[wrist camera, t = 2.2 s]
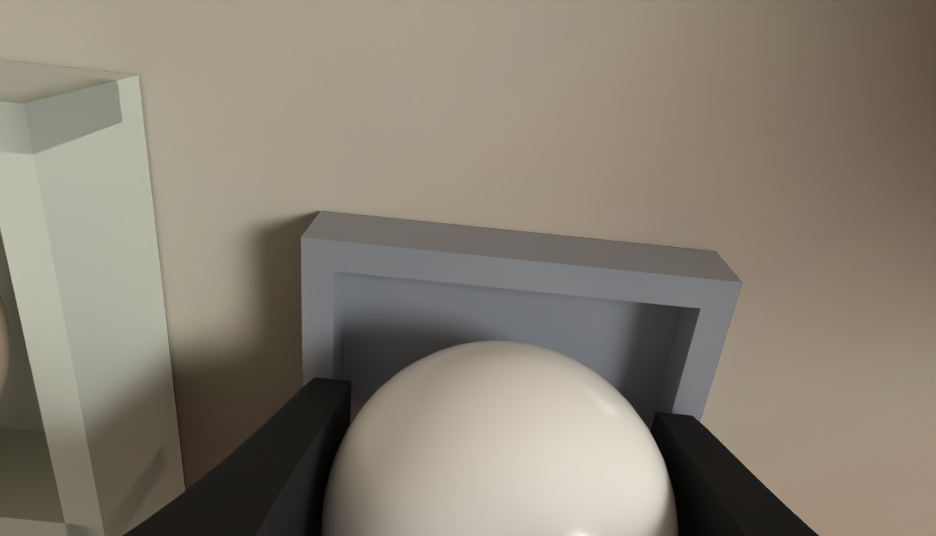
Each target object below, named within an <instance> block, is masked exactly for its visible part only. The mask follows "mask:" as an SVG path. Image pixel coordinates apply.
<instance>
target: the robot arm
mask: <svg viewBox="0 0 936 536" xmlns="http://www.w3.org/2000/svg"><path fill="white" fill-rule="evenodd" d="M350 412H351V381H346V380H336V379H326V378H316V377H314V378H313V379H312V380H310V381H309V382H308V383H307V384H306V385H305V386H304V387H303V388H302V389H301V390H300V391H298V392H297V393H296V394H295V395H294V396H293V397H292V398H291V399H290V400H289V401H288V402H287V403H286V404H285V405H284V406H283V407H282V408H281V409H280V410H279V411H278V412H277V413H276V414H275V415H274V416H273V417H271V418H270V419H269V420H268V421H267V422H266V423H265V424H264V425H263V426H262V427H261V428H260V429H258V430H257V431H256V432H255V433H254V434H253V435H252V436H251V437H249V438H248V439H247V440H246V441H245V442H244V443H243V444H242V445H240V446H239V447H238V448H237V449H236V450H235V451H234V452H233V453H231V454H230V455H229V456H228V457H227V458H225V459H224V460H223V461H222V462H221V463H219V464H218V465H217V466H216V467H214V468H213V469H212V470H211V471H209V472H208V473H207V474H206V475H204V476H203V477H202V478H201V479H199V480H198V481H197V482H196V483H194V484H193V485H192V486H191V487H189V488H188V489H187V490H186V491H184V492H183V493H182V494H181V495H179V496H178V497H177V498H175V499H174V500H172V501H171V502H170V503H168V504H167V505H166V506H164V507H163V508H162V509H160V510H159V511H157V512H156V513H155V514H153V515H152V516H150V517H149V518H148V519H146V520H145V521H143V522H142V523H140V524H139V525H137V526H136V527H134V528H133V529H131V530H130V531H128V532H127V533H126V534H124V535H123V536H321V523H322V508H323V497H324V492H325V488H326V484H327V480H328V476H329V472H330V469H331V465H332V462H333V459H334V457H335V455H336V452H337V450H338V448H339V446H340V444H341V441H342V439H343V437H344V435H345V433H346V431H347V429H348V428H349V426H350ZM650 433H651V434H652V436H653V438H654V440H655V442H656V444H657V446H658V448H659V450H660V452H661V455H662V457H663V459H664V461H665V464H666V467H667V470H668V474H669V477H670V480H671V484H672V488H673V492H674V495H675V502H676V510H677V519H678V531H679V534H678V536H819V535H817V534H816V533H815V532H814V531H813V530H812V529H811V528H810V527H808V526H807V525H806V524H805V523H804V522H803V521H802V520H801V519H800V518H799V517H798V516H796V515H795V514H794V513H793V512H792V511H791V510H790V509H789V508H788V507H787V506H786V505H785V504H783V503H782V502H781V501H780V500H779V499H778V498H777V497H776V496H775V495H774V494H773V493H772V492H771V491H770V490H769V489H768V488H767V487H766V486H765V485H764V484H763V483H762V482H760V481H759V480H758V479H757V478H756V477H755V476H754V475H753V474H752V473H751V472H750V471H749V470H748V469H747V468H746V467H745V466H744V465H743V464H742V463H741V462H740V461H739V460H738V459H737V458H736V457H735V456H734V455H733V454H732V453H731V452H730V451H729V450H728V449H727V448H726V447H725V446H724V445H723V444H722V443H721V442H720V441H719V440H718V439H717V438H716V437H715V436H714V435H713V434H712V433H711V432H710V431H709V430H708V429H707V428H706V427H705V426H703V425H702V424H701V423H700V422H699V421H698V420H697V419H696V418H695V417H694V416H692V415H683V414H673V413H663V412H655V416H654V419H653V423H652V427H651V431H650Z"/></svg>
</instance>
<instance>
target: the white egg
mask: <svg viewBox="0 0 936 536" xmlns="http://www.w3.org/2000/svg"><path fill="white" fill-rule="evenodd" d="M678 534H679V531H678V519H677V510H676V502H675V495H674V492H673V488H672V484H671V480H670V477H669V474H668V470H667V467H666V464H665V461H664V459H663V457H662V455H661V452H660V450H659V448H658V446H657V444H656V442H655V440H654V438H653V436H652V434H651V433H650V431H649V429H648V427H647V426H646V425H645V423H644V422H643V421H642V419H641V418H640V416H639V415H638V414H637V412H636V411H635V410H634V408H633V407H632V406H631V404H630V403H629V402H628V401H627V400H626V399H625V398H624V397H623V396H622V395H621V394H620V393H619V392H618V391H617V390H616V389H615V388H614V387H613V386H612V385H611V384H610V383H609V382H607V381H606V380H605V379H604V378H602V377H601V376H600V375H598V374H597V373H596V372H594V371H593V370H592V369H590V368H588V367H587V366H585V365H583V364H581V363H580V362H578V361H576V360H574V359H572V358H570V357H568V356H565V355H563V354H561V353H558V352H556V351H553V350H551V349H548V348H544V347H541V346H537V345H534V344H529V343H522V342H516V341H500V340H491V341H476V342H471V343H465V344H460V345H456V346H452V347H449V348H446V349H443V350H440V351H437V352H435V353H433V354H431V355H428V356H426V357H424V358H422V359H420V360H418V361H416V362H414V363H412V364H411V365H409V366H407V367H406V368H404V369H403V370H401V371H400V372H398V373H397V374H396V375H395V376H393V377H392V378H391V379H390V380H388V381H387V382H386V383H385V384H384V385H383V386H382V387H380V388H379V389H378V390H377V391H376V392H375V393H374V395H373V396H372V397H371V398H370V399H369V400H368V401H367V402H366V403H365V404H364V406H363V407H362V409H361V410H360V412H359V413H358V414H357V416H356V417H355V419H354V420H353V422H352V423H351V425H350V426H349V428H348V429H347V431H346V433H345V435H344V437H343V439H342V441H341V444H340V446H339V448H338V450H337V452H336V455H335V457H334V459H333V462H332V465H331V469H330V472H329V476H328V480H327V484H326V488H325V492H324V497H323V508H322V523H321V536H678Z"/></svg>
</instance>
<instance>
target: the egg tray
mask: <svg viewBox="0 0 936 536" xmlns="http://www.w3.org/2000/svg"><path fill="white" fill-rule="evenodd" d="M0 296H1V299H2V302H3V305H4V308H5V312H6V315H7V318H8V324H9V330H10V363H9V369H8V375H7V379H6V382H5V386H4V390H3V393H2V395H1V398H0V536H123V535H124V534H126V533H127V532H128V531H130V530H131V529H133V528H134V527H136V526H137V525H139V524H140V523H142V522H143V521H145V520H146V519H148V518H149V517H150V516H152V515H153V514H155V513H156V512H157V511H159V510H160V509H162V508H163V507H164V506H166V505H167V504H168V503H170V502H171V501H172V500H174V499H175V498H177V497H178V496H179V495H181V494H182V493H183V492H184V491H185V484H184V475H183V466H182V457H181V448H180V440H179V431H178V422H177V413H176V404H175V395H174V386H173V377H172V368H171V360H170V351H169V342H168V333H167V324H166V315H165V306H164V297H163V289H162V280H161V271H160V262H159V253H158V244H157V235H156V226H155V217H154V209H153V200H152V191H151V182H150V173H149V164H148V155H147V146H146V137H145V129H144V120H143V111H142V102H141V93H140V84H139V75H134V74H125V73H115V72H106V71H96V70H86V69H77V68H67V67H58V66H48V65H38V64H29V63H19V62H10V61H0Z"/></svg>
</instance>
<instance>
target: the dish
mask: <svg viewBox="0 0 936 536" xmlns="http://www.w3.org/2000/svg"><path fill="white" fill-rule="evenodd" d="M741 285H742V282H741V280H740V279H739V278H738V277H737V276H736V274H735V273H734V272H733V271H732V270H731V269H730V267H729V266H728V265H727V264H726V263H725V261H724V260H723V259H722V258H721V257H720V256H719V254H718V253H717V252H715V251H705V250H696V249H686V248H676V247H666V246H657V245H647V244H637V243H627V242H618V241H608V240H598V239H588V238H579V237H569V236H559V235H550V234H540V233H530V232H520V231H511V230H501V229H491V228H481V227H472V226H462V225H452V224H442V223H433V222H423V221H413V220H403V219H394V218H384V217H374V216H365V215H355V214H345V213H335V212H326V211H320V213H319V214H318V215H317V217H316V218H315V219H314V221H313V222H312V223H311V224H310V226H309V227H308V228H307V230H306V231H305V232H304V234H303V235H302V236H301V296H302V375H303V387H304V386H305V385H306V384H307V383H308V382H309V381H310V380H312V379H313V378H314V377H316V378H326V379H336V380H346V381H351V412H350V425H351V423H352V422H353V420H354V419H355V417H356V416H357V414H358V413H359V412H360V410H361V409H362V407H363V406H364V404H365V403H366V402H367V401H368V400H369V399H370V398H371V397H372V396H373V395H374V393H375V392H376V391H377V390H378V389H379V388H380V387H382V386H383V385H384V384H385V383H386V382H387V381H388V380H390V379H391V378H392V377H393V376H395V375H396V374H397V373H398V372H400V371H401V370H403V369H404V368H406V367H407V366H409V365H411V364H412V363H414V362H416V361H418V360H420V359H422V358H424V357H426V356H428V355H431V354H433V353H435V352H437V351H440V350H443V349H446V348H449V347H452V346H456V345H460V344H465V343H471V342H476V341H491V340H500V341H516V342H522V343H529V344H534V345H537V346H541V347H544V348H548V349H551V350H553V351H556V352H558V353H561V354H563V355H565V356H568V357H570V358H572V359H574V360H576V361H578V362H580V363H581V364H583V365H585V366H587V367H588V368H590V369H592V370H593V371H594V372H596V373H597V374H598V375H600V376H601V377H602V378H604V379H605V380H606V381H607V382H609V383H610V384H611V385H612V386H613V387H614V388H615V389H616V390H617V391H618V392H619V393H620V394H621V395H622V396H623V397H624V398H625V399H626V400H627V401H628V402H629V403H630V404H631V406H632V407H633V408H634V410H635V411H636V412H637V414H638V415H639V416H640V418H641V419H642V421H643V422H644V423H645V425H646V426H647V427H648V429H649V431H651V427H652V423H653V419H654V416H655V412H663V413H673V414H683V415H692V416H694V417H695V418H696V419H697V420H698V421H699V422H700V420H701V417H702V413H703V410H704V407H705V403H706V400H707V397H708V394H709V390H710V387H711V384H712V380H713V377H714V374H715V370H716V367H717V364H718V361H719V357H720V354H721V351H722V347H723V344H724V341H725V338H726V334H727V331H728V328H729V324H730V321H731V318H732V314H733V311H734V308H735V305H736V301H737V298H738V295H739V291H740V288H741Z"/></svg>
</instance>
